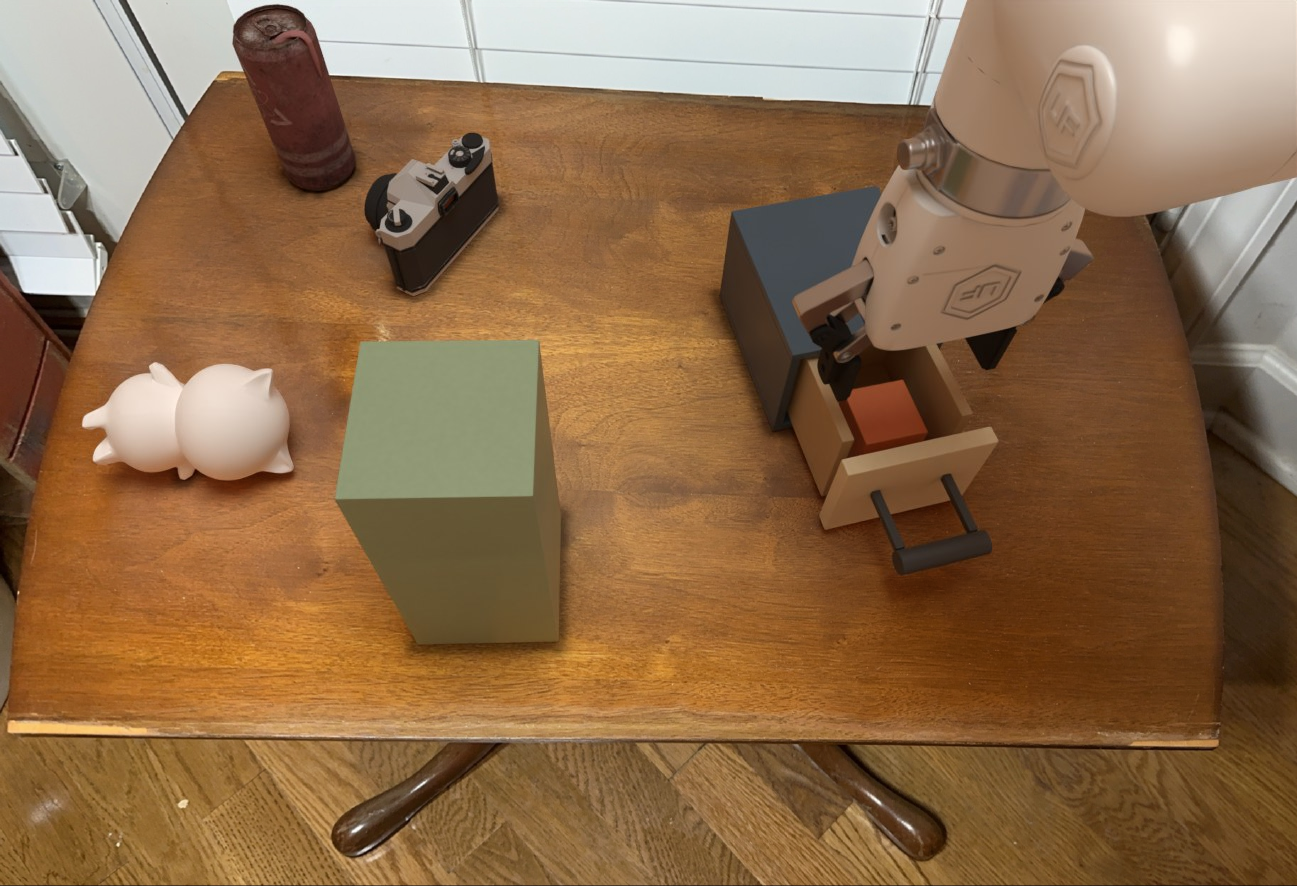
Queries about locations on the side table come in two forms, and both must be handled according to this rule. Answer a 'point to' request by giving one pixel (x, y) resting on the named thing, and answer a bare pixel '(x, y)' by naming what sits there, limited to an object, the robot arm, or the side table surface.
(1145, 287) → the side table surface
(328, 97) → the can
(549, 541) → the stand
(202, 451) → the cat figurine
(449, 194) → the camera
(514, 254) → the side table surface
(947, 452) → the drawer
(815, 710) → the side table surface
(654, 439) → the side table surface
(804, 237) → the cabinet
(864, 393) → the block
